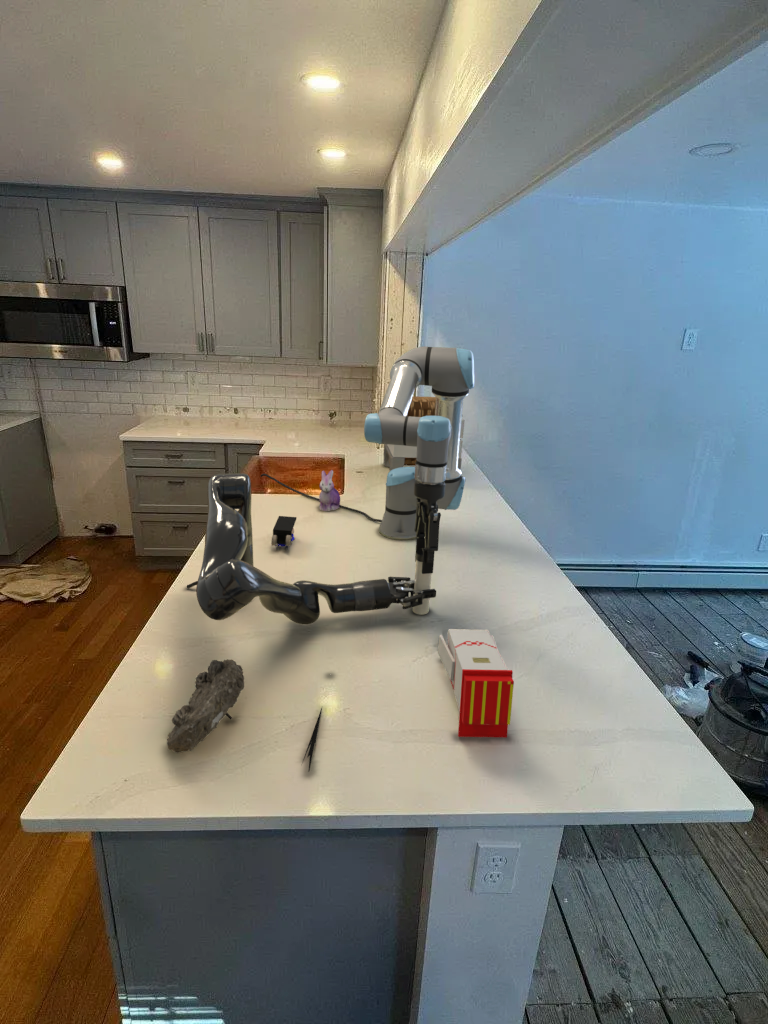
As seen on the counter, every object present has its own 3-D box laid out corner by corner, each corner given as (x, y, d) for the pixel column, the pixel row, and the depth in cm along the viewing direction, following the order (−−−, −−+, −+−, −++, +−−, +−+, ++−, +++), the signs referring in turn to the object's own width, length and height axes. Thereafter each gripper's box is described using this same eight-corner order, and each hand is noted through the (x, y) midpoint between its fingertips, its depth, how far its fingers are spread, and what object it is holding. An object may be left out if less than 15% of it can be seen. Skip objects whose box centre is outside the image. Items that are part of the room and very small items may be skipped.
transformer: (382, 463, 289) (386, 382, 275) (445, 464, 293) (451, 384, 279) (390, 482, 257) (394, 392, 243) (460, 483, 261) (468, 394, 247)
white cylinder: (430, 614, 148) (435, 556, 143) (414, 615, 147) (418, 557, 142) (426, 606, 152) (430, 550, 147) (410, 607, 151) (414, 550, 146)
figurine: (322, 513, 216) (323, 475, 211) (313, 504, 224) (313, 468, 219) (345, 510, 220) (346, 473, 215) (335, 502, 229) (335, 466, 223)
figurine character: (291, 556, 181) (297, 534, 194) (291, 536, 177) (297, 514, 191) (270, 556, 181) (278, 533, 194) (269, 535, 177) (277, 513, 191)
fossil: (192, 660, 117) (244, 628, 112) (224, 691, 120) (276, 661, 115) (142, 746, 98) (202, 712, 93) (182, 779, 101) (242, 748, 96)
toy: (488, 613, 130) (523, 677, 101) (484, 667, 133) (517, 744, 104) (435, 612, 130) (455, 676, 101) (432, 666, 133) (451, 743, 103)
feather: (331, 679, 122) (336, 673, 122) (307, 777, 96) (313, 769, 95) (324, 675, 122) (329, 669, 121) (298, 772, 95) (304, 764, 95)
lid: (436, 561, 143) (436, 555, 142) (418, 562, 142) (418, 556, 141) (430, 554, 147) (431, 548, 147) (413, 555, 146) (413, 548, 146)
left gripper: (361, 595, 151) (421, 588, 156) (376, 622, 138) (441, 614, 143) (362, 569, 149) (423, 564, 154) (377, 595, 136) (443, 588, 141)
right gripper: (457, 492, 130) (448, 583, 137) (434, 469, 147) (427, 551, 155) (425, 493, 128) (418, 584, 136) (406, 470, 146) (401, 552, 153)
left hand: (431, 588), depth 148 cm, fingers closed on white cylinder, 4 cm apart
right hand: (423, 566), depth 145 cm, fingers open, 6 cm apart
